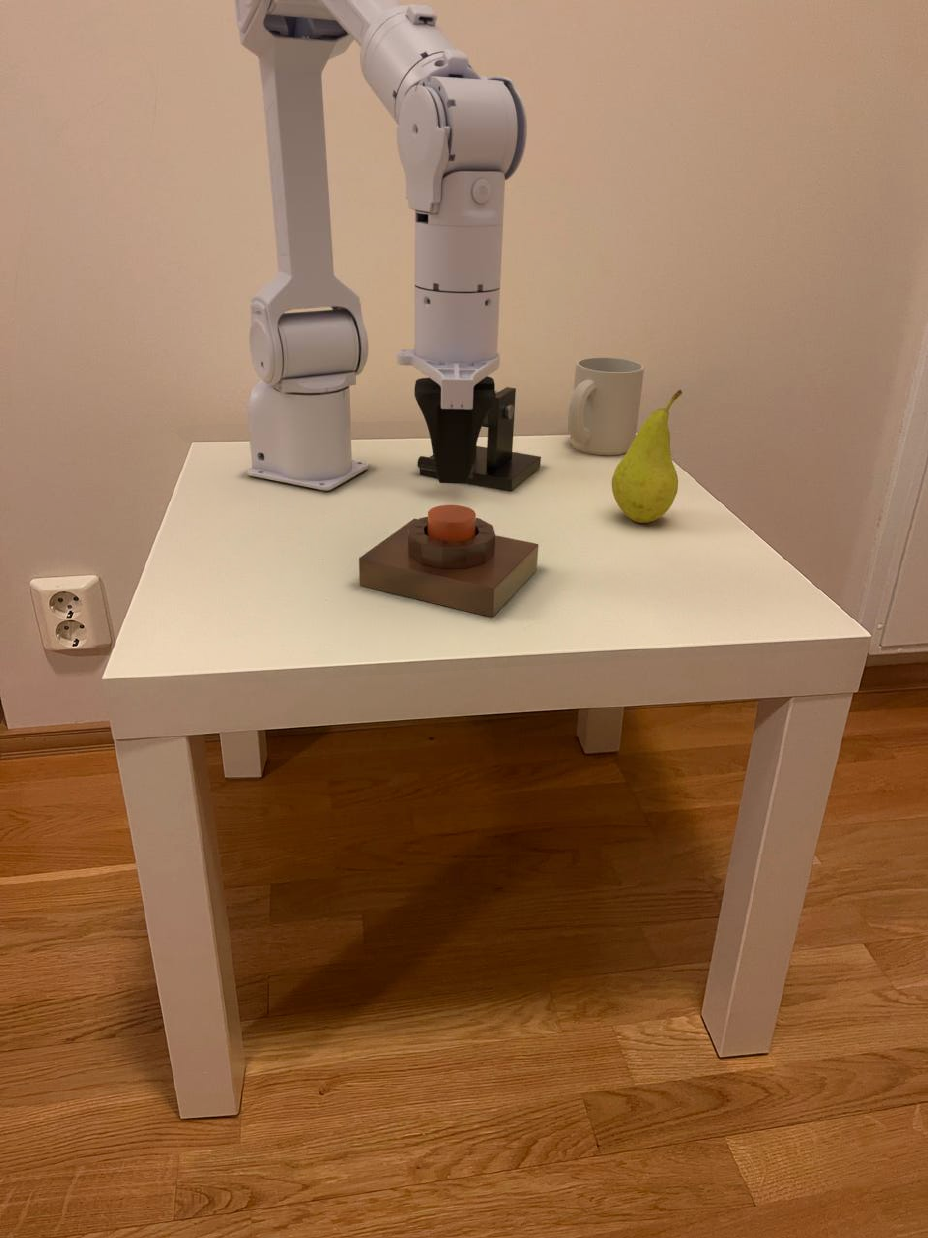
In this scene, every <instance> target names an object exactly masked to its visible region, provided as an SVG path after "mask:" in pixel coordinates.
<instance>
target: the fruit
mask: <svg viewBox="0 0 928 1238" xmlns="http://www.w3.org/2000/svg"><path fill="white" fill-rule="evenodd" d="M682 394H683V391H682V389H678V390H677V391H676V392H675V393H674V394H673V395H672V397H671V398H670V401H669V402H668V403H667V405H666V406H665V407H664V408H657V409H656V410H654V411H652V412H651V413H650V415H649V416H648V417H646V419H645V420H644V422H643V424H642V425H641V426H640V428H639V430H638V431H637V432H636V437H635V439H634V440H633V442H632V444H631V446H630V447H629V449H628V451H627V453H625V454H624V455H623V457H622V458H621V460H620V461H619V463H618V464H617V465H616V467H615V469H614V472H613V474H612V477H611V491H612V495H613V499H614V500H615V503H616V504H617V506H618V507H619V509H620V510H621V511H622V513H623V514H624V515H625V516H626V517H627V518H629V519H630V520H632V521H633V522H634V523H639V524H648V523H652V522H654V521H656V520H659V518H662V516H663V515H665V514H666V513H667V512H668V511H669V509H670V508H671V506H672V505H673V503H674V501H675V499H676V496H677V494H678V489H679V477H678V473H677V470H676V467H675V465H674V463H673V459H672V455H671V433H670V427H669V417H670V413H669V411H670V408H671V407H672V405H673V403H674V402H675V401H676V400H677V399H678V398H679V397H680V396H681V395H682Z"/></svg>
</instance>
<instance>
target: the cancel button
mask: <svg viewBox="0 0 928 1238" xmlns="http://www.w3.org/2000/svg"><path fill="white" fill-rule="evenodd" d="M427 517H428V536H429V537H431V538H432V539H437V540H442V541H465V540H469V539H473V538H474V537H475V524H476V518H477V513H476V511H475V510H474V509H473V508H471V507H469V506H465V505H460V504H441V505H437V506H436V505H435V506H434V507H432V508H429V510H428V511H427Z"/></svg>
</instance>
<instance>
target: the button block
mask: <svg viewBox="0 0 928 1238" xmlns="http://www.w3.org/2000/svg"><path fill="white" fill-rule="evenodd" d="M539 546H540V545H539V544H538V543H535V542H531V541H526V540H521V539H520V540H519V539H516V538H511V537H506V536H502V535H497V534H496V532H495V530H494V526H493V525H492V524H491V523H489V522H487V521H485V520H483V519H482V518H480V517H476V524H475V537H474V538H473V539H469V540H465V541H442V540H437V539H432V538H431V537H429V536H428V516H424V517H419V518H413V519H412V520H410V521H409V522H407V523H406V524H404V525H403V526H401V527H400V528H399V529H397V530H396V531H395V532H394V533H391V534H390V535H389V536H388V537H386V538H385V539H384V540H382V541H381V542H379V543H378V544H376V546H374V547H372V548H371V549H369V550H368V551H366V553H364V554H363V555H361V556H360V557H358V575H359V577H358V578H359V586H361V587H365V588H369V589H372V590H373V589H374V590H377V591H381V592H384V593H385V592H386V593H389V594H393V595H398V596H402V597H406V598H411V599H415V600H419V601H422V602H423V601H424V602H427V603H431V604H435V605H440V606H444V607H448V608H452V609H456V610H460V611H465V612H467V613H468V612H469V613H473V614H477V615H481V616H485V617H490V618H493V617H495V615H496V614H497V613H498V612H499V611H500V610H501V609H502V608H503V607H504V606H505V605H506V603H508V601H510V599H512V597H513V596H514V595H515V594H516V593H517V592H518V591H519V590H520V589H521V588H522V586H524V584H525V583H526V582H527V581H528V580H529V579H530V578H531V577H532V576H533V575H534V574H535V573H536V571H538V557H539Z"/></svg>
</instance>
